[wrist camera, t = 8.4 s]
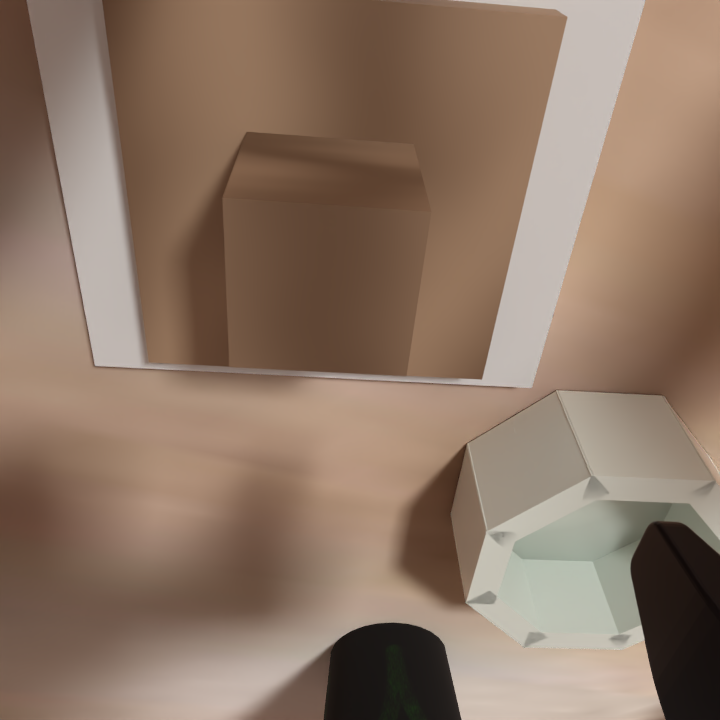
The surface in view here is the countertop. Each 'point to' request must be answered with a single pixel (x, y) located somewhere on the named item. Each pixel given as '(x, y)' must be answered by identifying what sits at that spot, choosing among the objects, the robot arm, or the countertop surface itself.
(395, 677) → the cup
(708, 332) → the countertop surface
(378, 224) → the lid
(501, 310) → the mat
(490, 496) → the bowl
